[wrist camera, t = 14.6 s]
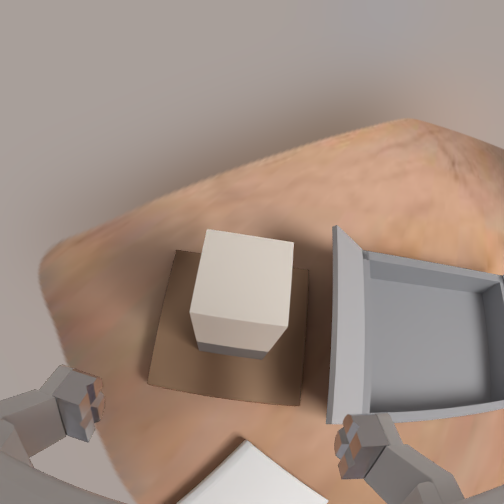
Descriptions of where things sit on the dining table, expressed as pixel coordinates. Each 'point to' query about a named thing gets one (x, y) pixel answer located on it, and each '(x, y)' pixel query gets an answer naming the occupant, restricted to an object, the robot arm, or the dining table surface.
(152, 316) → the dining table surface
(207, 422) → the dining table surface
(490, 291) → the carton
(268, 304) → the block
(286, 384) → the walnut board
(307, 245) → the dining table surface
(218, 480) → the external hard drive
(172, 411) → the dining table surface
